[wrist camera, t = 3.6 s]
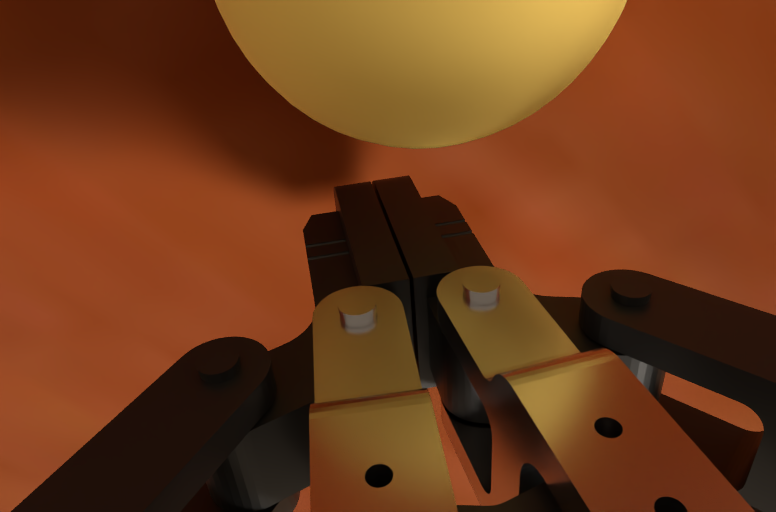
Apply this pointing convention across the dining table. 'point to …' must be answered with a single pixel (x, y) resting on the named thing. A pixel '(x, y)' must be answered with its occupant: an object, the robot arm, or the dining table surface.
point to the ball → (419, 61)
